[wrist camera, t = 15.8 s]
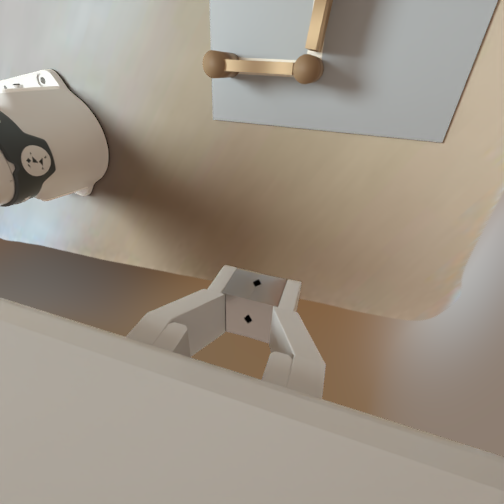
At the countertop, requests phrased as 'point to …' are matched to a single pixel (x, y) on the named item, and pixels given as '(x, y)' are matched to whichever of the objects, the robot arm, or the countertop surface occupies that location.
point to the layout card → (351, 64)
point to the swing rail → (318, 25)
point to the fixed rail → (262, 66)
